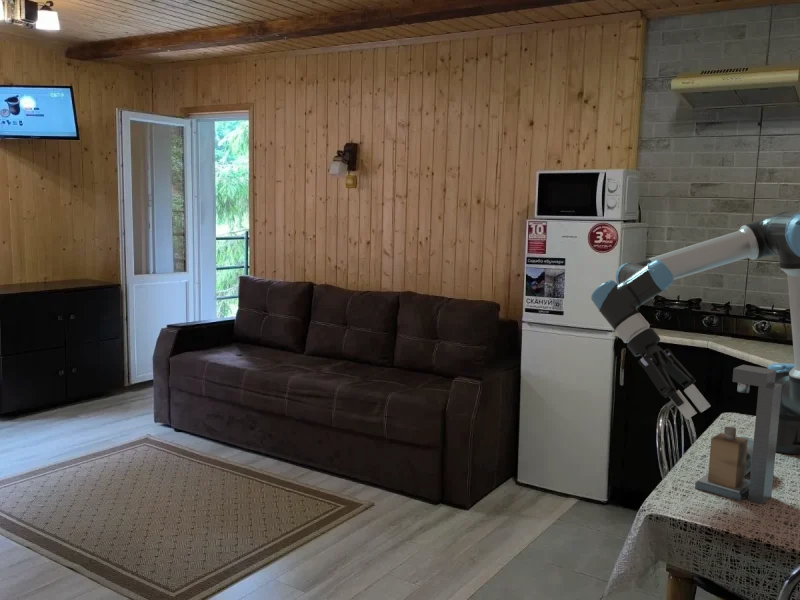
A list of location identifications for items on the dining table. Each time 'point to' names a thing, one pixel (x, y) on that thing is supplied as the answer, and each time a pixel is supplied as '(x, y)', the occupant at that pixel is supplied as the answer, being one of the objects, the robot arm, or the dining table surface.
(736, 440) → the brown bottle
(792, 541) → the dining table surface
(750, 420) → the dining table surface
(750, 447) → the blue grey streaked ovoid
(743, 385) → the press
